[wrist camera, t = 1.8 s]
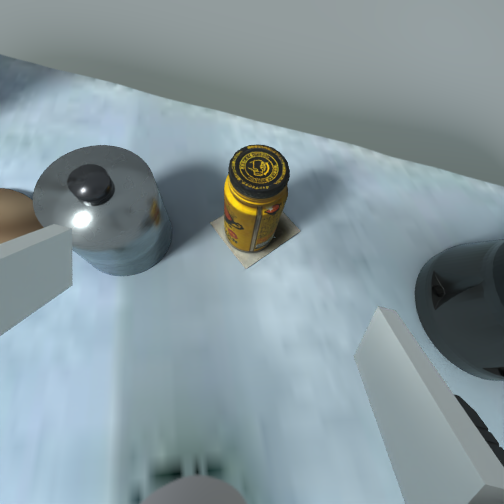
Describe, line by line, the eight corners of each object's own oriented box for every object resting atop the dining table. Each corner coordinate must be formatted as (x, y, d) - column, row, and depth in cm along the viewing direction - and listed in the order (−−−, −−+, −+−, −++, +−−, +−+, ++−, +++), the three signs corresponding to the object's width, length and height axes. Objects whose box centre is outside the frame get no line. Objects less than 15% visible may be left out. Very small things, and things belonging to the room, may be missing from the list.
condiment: (209, 223, 35) (202, 156, 24) (264, 190, 37) (280, 115, 26) (245, 269, 33) (256, 220, 22) (300, 232, 35) (334, 170, 24)
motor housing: (187, 249, 33) (171, 200, 23) (102, 292, 30) (44, 257, 21) (150, 186, 36) (122, 118, 26) (69, 220, 33) (4, 159, 23)
